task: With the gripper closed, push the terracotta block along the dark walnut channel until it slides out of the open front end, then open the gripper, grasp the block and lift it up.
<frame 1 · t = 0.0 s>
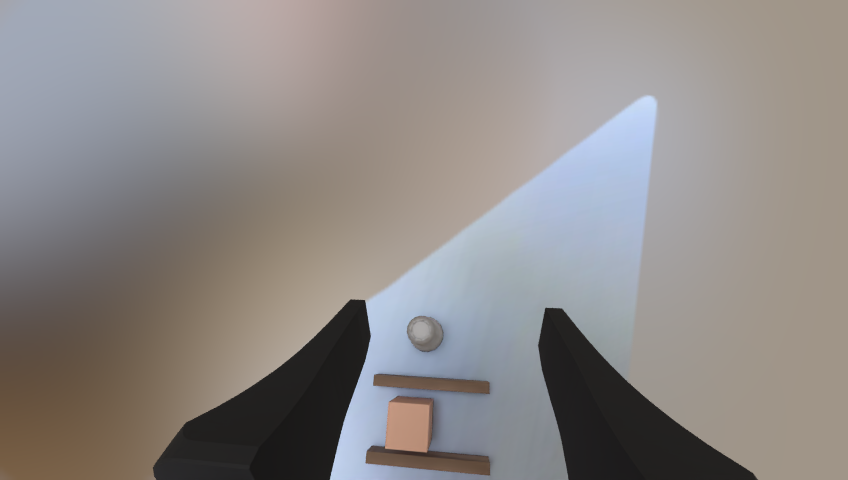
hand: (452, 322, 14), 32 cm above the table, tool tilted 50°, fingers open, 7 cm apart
terracotta block: (414, 417, 42), on the table
walnut channel: (430, 418, 41), on the table
rook chess piece: (426, 334, 45), on the table
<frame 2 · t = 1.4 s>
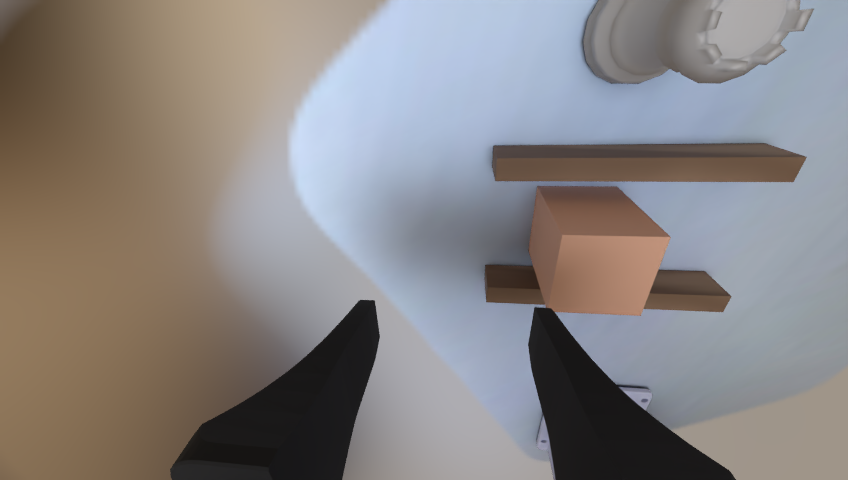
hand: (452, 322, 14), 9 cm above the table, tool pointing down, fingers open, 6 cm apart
terracotta block: (569, 220, 21), on the table
walnut channel: (603, 221, 21), on the table
rook chess piece: (628, 31, 16), on the table
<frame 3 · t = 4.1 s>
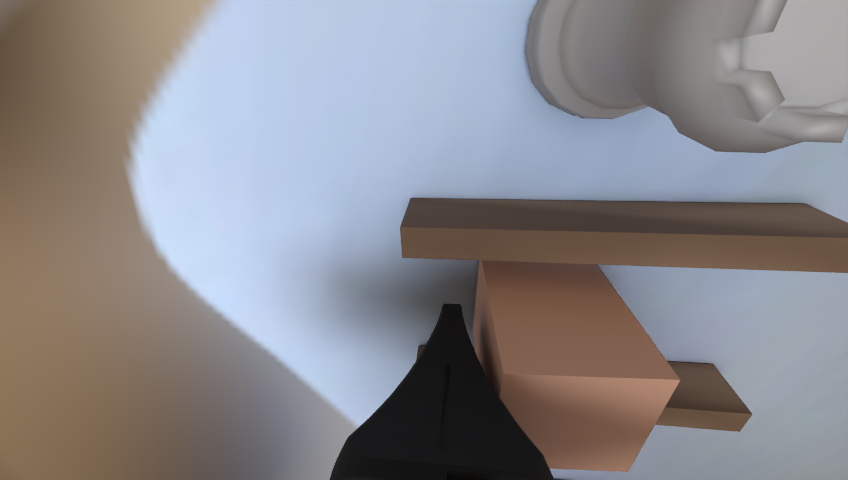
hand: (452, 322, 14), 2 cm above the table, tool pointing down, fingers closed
terracotta block: (526, 296, 15), on the table, touching gripper
walnut channel: (572, 299, 15), on the table
rook chess piece: (597, 36, 10), on the table
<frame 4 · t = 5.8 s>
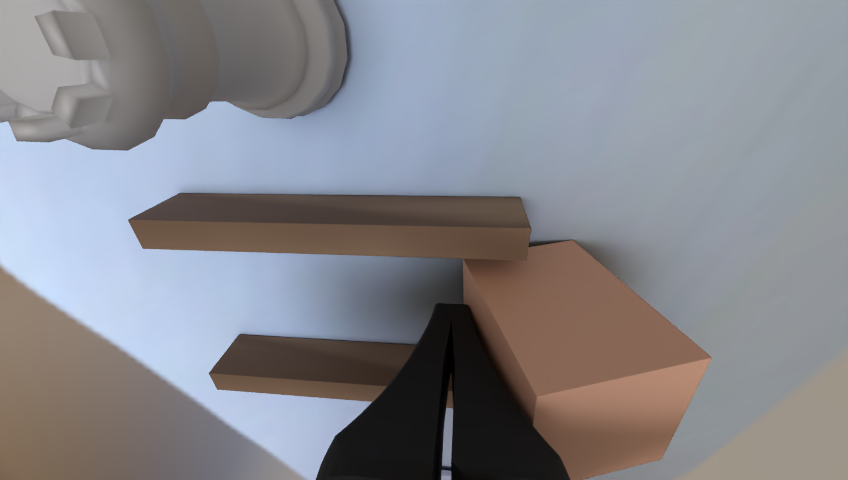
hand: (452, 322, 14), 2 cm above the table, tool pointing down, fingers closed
terracotta block: (515, 294, 14), point 1 cm above the table, tilted 16°, touching gripper
walnut channel: (355, 288, 16), on the table
rook chess piece: (287, 41, 11), on the table
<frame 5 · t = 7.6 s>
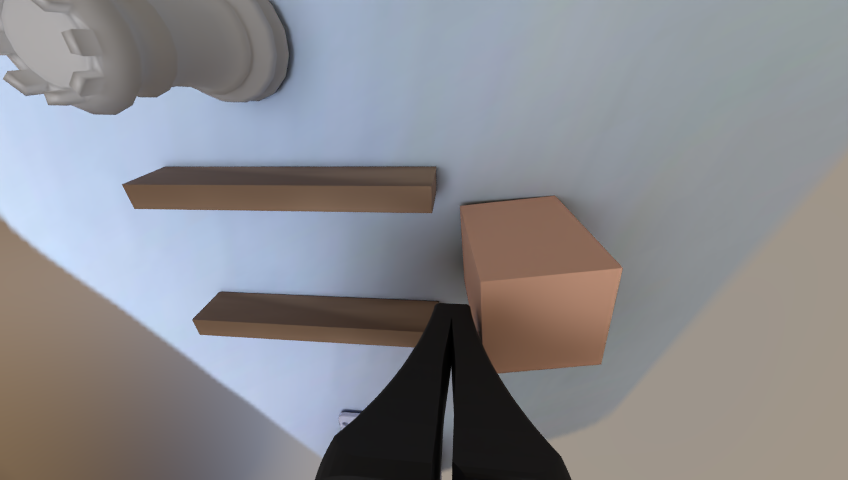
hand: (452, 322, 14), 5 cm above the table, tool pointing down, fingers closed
terracotta block: (506, 241, 17), on the table, tilted 7°, touching gripper
walnut channel: (313, 248, 19), on the table
rook chess piece: (244, 42, 14), on the table
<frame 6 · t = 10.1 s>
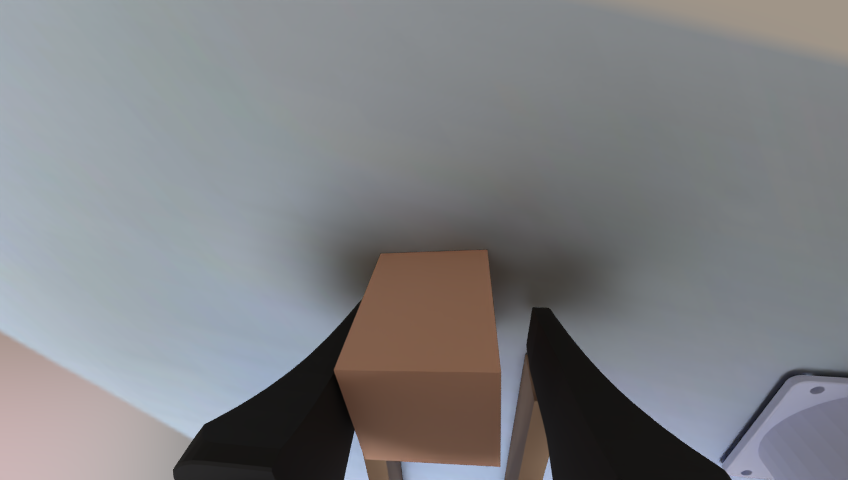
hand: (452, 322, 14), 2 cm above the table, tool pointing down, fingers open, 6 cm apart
terracotta block: (437, 293, 15), on the table, touching gripper
walnut channel: (452, 431, 20), on the table
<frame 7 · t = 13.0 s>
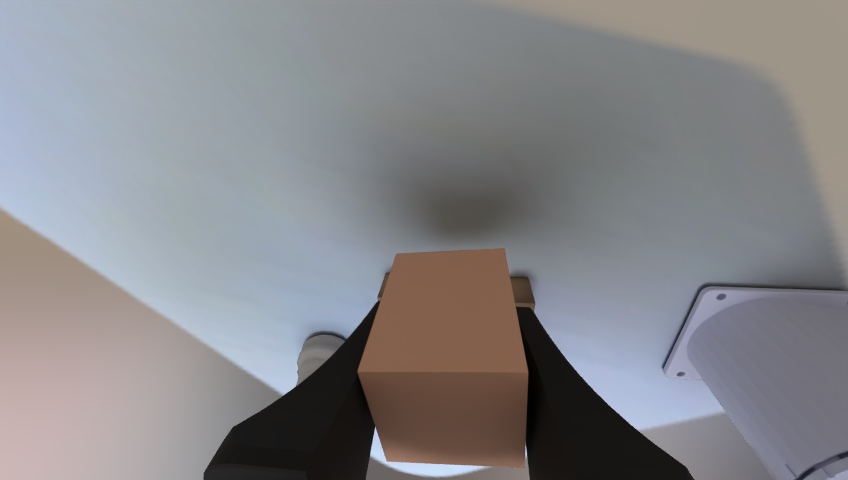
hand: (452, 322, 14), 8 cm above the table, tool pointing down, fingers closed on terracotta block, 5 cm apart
terracotta block: (453, 293, 15), point 6 cm above the table, touching gripper
walnut channel: (454, 349, 26), on the table
rook chess piece: (331, 349, 27), on the table
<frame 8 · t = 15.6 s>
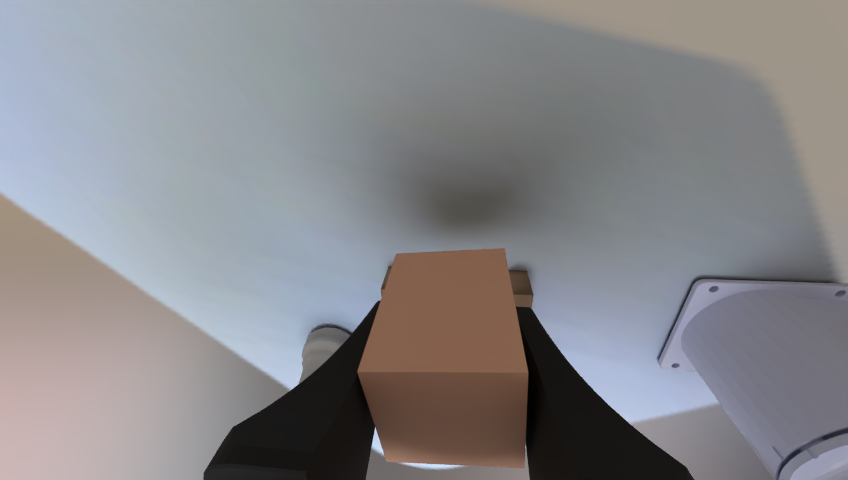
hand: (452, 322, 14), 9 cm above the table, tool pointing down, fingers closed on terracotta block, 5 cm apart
terracotta block: (453, 293, 15), point 7 cm above the table, touching gripper
walnut channel: (455, 342, 26), on the table
rook chess piece: (335, 341, 28), on the table
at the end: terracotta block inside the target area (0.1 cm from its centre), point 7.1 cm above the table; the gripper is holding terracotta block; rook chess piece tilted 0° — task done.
